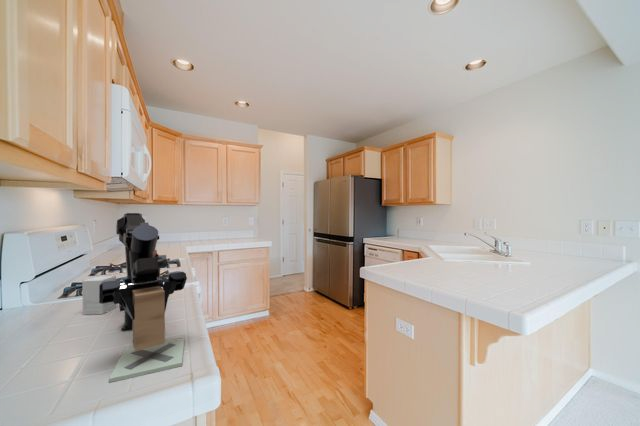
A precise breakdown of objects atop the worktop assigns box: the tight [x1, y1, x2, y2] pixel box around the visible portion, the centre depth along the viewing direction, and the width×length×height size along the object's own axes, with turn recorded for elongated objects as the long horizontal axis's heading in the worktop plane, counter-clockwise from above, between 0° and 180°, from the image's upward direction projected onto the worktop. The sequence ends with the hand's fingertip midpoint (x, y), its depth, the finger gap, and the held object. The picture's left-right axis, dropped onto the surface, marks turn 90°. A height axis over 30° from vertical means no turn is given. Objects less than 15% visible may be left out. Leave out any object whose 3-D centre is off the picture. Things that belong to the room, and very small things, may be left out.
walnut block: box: [132, 286, 166, 352], centre depth 65 cm, size 6×6×13 cm
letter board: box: [108, 337, 185, 383], centre depth 65 cm, size 14×14×1 cm
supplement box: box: [81, 275, 118, 316], centre depth 99 cm, size 7×7×13 cm
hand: (149, 315), depth 64 cm, fingers closed on walnut block, 6 cm apart
